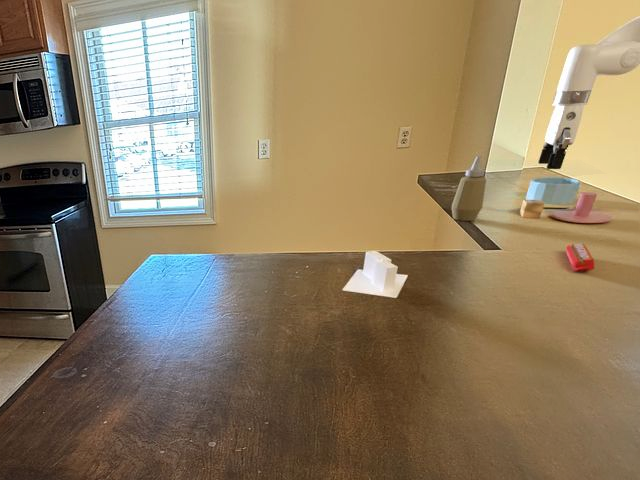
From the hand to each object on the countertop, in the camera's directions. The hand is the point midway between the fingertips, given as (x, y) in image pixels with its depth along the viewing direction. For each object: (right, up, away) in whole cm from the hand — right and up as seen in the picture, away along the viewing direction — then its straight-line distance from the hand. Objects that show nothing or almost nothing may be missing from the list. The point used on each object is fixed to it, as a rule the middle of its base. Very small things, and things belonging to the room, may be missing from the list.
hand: (548, 166), depth 138 cm
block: (0, -12, +8) cm, 14 cm away
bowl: (+14, -6, +17) cm, 23 cm away
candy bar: (-16, -34, -28) cm, 47 cm away
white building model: (-64, -39, -30) cm, 80 cm away
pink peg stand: (+10, -14, +1) cm, 18 cm away
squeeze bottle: (-19, -13, +10) cm, 24 cm away
